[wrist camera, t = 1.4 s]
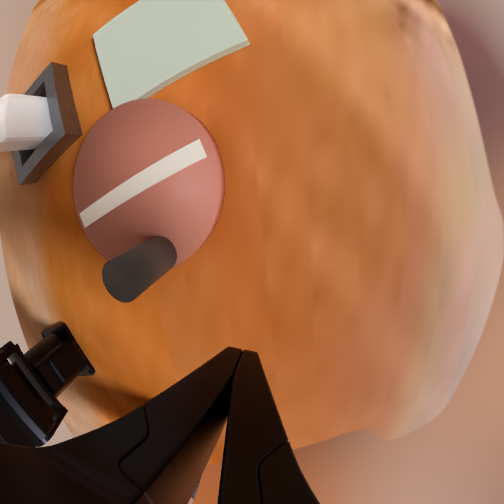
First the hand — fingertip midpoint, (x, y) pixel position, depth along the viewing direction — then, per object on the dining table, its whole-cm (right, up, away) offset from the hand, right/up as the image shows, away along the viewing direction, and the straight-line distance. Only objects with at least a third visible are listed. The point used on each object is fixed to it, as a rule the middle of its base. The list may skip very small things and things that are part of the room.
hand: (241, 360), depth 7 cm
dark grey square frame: (-18, +15, +9) cm, 25 cm away
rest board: (-6, +18, +6) cm, 20 cm away
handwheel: (-6, +7, +7) cm, 12 cm away
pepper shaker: (-18, +15, +10) cm, 25 cm away
